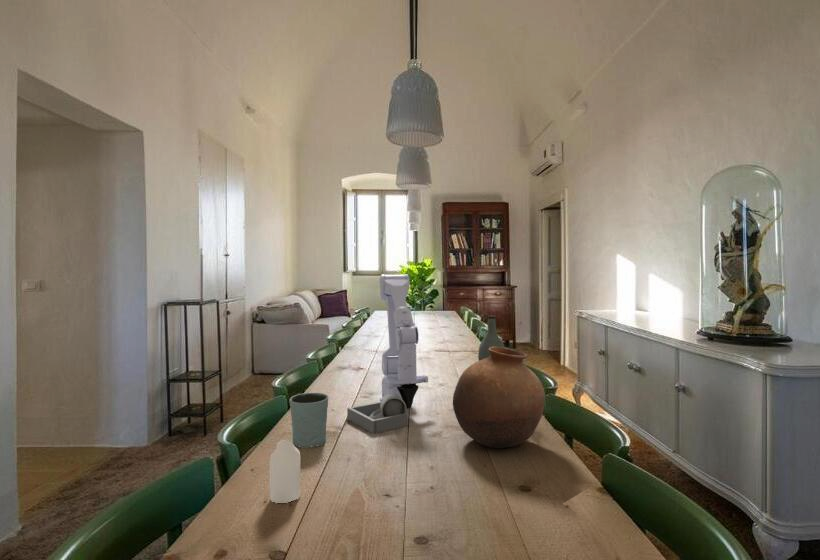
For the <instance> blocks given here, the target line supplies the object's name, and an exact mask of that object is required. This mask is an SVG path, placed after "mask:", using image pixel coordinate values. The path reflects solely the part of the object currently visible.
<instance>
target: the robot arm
mask: <svg viewBox="0 0 820 560" xmlns="http://www.w3.org/2000/svg"><path fill="white" fill-rule="evenodd" d="M410 283H411V281H410V276H409V275H408V273H405V274H381V275H380V276H379V295H380V300H383V301H384V302H385V304H386V310H387V312H386V313H387V327H388V328H387V329H388V330H387V331H388V343H389V344H388V345H389V347H388V348H387V349H386V350H385V351H384V352H383V353H382V355H381V372H382V374H383V375H384V376H383V377H382V379H381V397H380V398H379V400H380V401H381V400H382V399H383V397H384V396H386V395H388V394H396V395H398V396H399V397H400V398H401V399H402V400H403V401H404V402H405V404H406V408H407V410H411V409H412V405H413V402H414V399H415V395H416V394H417V392H418V390H419V385H417V384H421V383H425V384H426V383H429V375H425V374H424V375H418V373H417V345H418V343H419V329H418V326H417V325H416V323H414V319H413V314H412V311H411V309H410V308H409V307H407V295H408V293H409V290H410Z"/></svg>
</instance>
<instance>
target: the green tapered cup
mask: <svg viewBox="0 0 820 560" xmlns="http://www.w3.org/2000/svg"><path fill="white" fill-rule="evenodd" d="M328 405H329V396H328V395H327V394H325V393H321V392H304V393H298V394H295V395H293V396H291V397H290V398H289V406H290V408H289V409H290V414H291V415H290V417H291V429H292V443H293V445H294V446H295V445H296V446H295V447H297V446H300V447H299V448H301V447H311V446H316V447H318V446H317V445H320V446H322V445H324V444H325V443H326V440H327V421H328ZM324 442H325V443H324ZM323 443H324V444H323ZM321 444H322V445H321ZM311 448H312V447H311Z"/></svg>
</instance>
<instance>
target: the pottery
mask: <svg viewBox="0 0 820 560" xmlns="http://www.w3.org/2000/svg"><path fill="white" fill-rule="evenodd" d="M488 350H489V352H490V353H491V356H490V357H488V358H485V359H483V360H480V361H479V360H478V361H476V362H474V363H472V364H471V365H470V366H468V367H467V368H466V369H465V370H464V371H463V372H462V373H461V375H459V378H458V381H457V383H456V386H455V389H454V391H453V395H452V408H453V409H452V410H453V412H454V415H455V417H456V420H457V423H458V424H459V427H460V429H461V430H462V431H463V432H464V433H465V434H466V435H467V436H468V437H469V438H471V439H472V440H474V441H475V442H477V443H478V444H481V445H483V446H486V447H489V448H497V449H503V448H511V447H515V446H518V445H520V444H522V443H525V442H526V441H528V440H529V439H530V438H531V437H532V436H533V435H534V433H535V431H536V429H537V427H538V425H539V423H540V421H541V419H542V416H543V414H544V410H545V404H546V392H545V389H544V386H543V383H542V382H541V380H540V378H539V377H538V376H537V375H536V374H535V372H534V371H532V370H531V369H530V368H529V367H527V365H525V363H524V362H523V360H524V359H526V358H527V356H528V355H527V353H524V352H522V351H518V350H515V349H511V348H508V347H505V348H502V347H490V348H489V349H488Z"/></svg>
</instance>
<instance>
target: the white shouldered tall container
mask: <svg viewBox="0 0 820 560" xmlns="http://www.w3.org/2000/svg"><path fill="white" fill-rule="evenodd" d="M269 490H270V491H269V496H270V497H269V498H270V502H272V503H273V502H275V503H274V504H277V503H287V502H291V501H293V500H296V499H297V500H299V499H300V498H299V497H301V495H302V494H301V452H300V450H299V448H298V447H297V446H295V445H294V444H293V442H291V441H287V440H286V439H281V440H280V441H278V442H277V443H276V448H275V449H274V450H273V451H272V453H271V455H270V458H269ZM300 494H301V495H300ZM297 500H296V501H297ZM291 503H292V502H291ZM287 504H288V503H287Z"/></svg>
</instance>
